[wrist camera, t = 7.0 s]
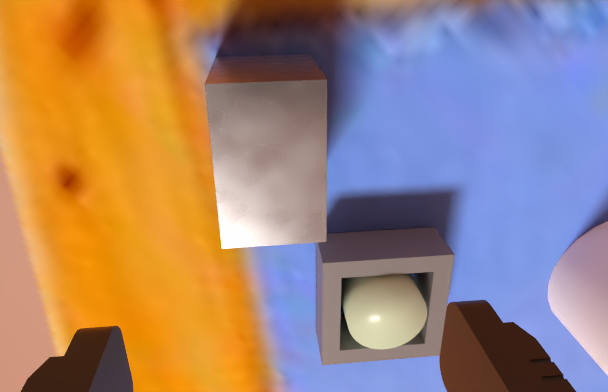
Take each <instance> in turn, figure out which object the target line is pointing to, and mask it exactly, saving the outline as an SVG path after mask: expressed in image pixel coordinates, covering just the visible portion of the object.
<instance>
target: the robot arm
mask: <svg viewBox="0 0 608 392" xmlns="http://www.w3.org/2000/svg"><path fill="white" fill-rule="evenodd" d="M440 370H441V375H442V379H443V382H444V385H445V387H446V390H447V392H576V391H575V390H574V388H573V387H572V386H571V384H570V383H569V382H568V380H567V379H564V378H563V374H562V373H561V371H560V370H559V369H558V367H557V366H556V365H555V363H554V362H551V360H550V357H549V356H548V354H547V353H546V352H545V350H544V349H543V348H542V346H541V345H540V344H539V342H538V341H537V340H536V339H535V338H534V337H533V336H531V335H530V334H529V333H527V332H526V331H525V330H523V329H522V328H520V327H519V326H518V325H516V324H515V323H514V322H509V323H503V322H502V321H501V319H500V318H499V316H498V315H497V314H496V312H495V311H494V309H493V308H492V307H491V305H490V304H489V303H488V302H487V301H485V300H475V301H462V302H451V303H449V304H448V306H447V310H446V316H445V323H444V330H443V337H442V344H441V350H440ZM21 392H133V381H132V376H131V372H130V368H129V363H128V359H127V354H126V350H125V345H124V341H123V336H122V333H121V330H120V328H119V327H118V326H110V327H96V328H83V329H79V330H77V332H76V333H75V335H74V337H73V339H72V341H71V343H70V345H69V347H68V349H67V351H66V353H65V355H64V356H60V357H50V358H49V359H48V360H47V361H46V362H44V363H43V364H42V365H41V366H40V367H39V368H38V369H37V370H36V371H35V372H34V373H33V374H32V375H31V376H30V377H29V378H28V379H27V381H26V383H25V385H24V386H23V389H22V390H21Z"/></svg>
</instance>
